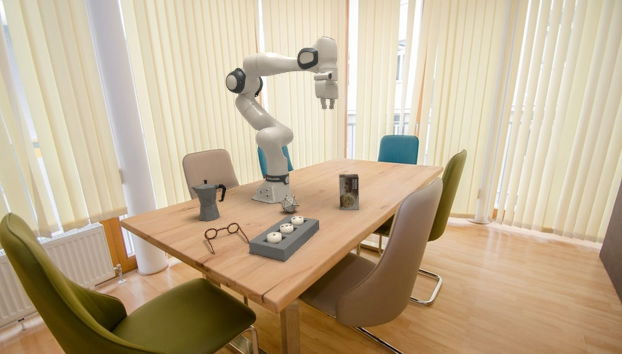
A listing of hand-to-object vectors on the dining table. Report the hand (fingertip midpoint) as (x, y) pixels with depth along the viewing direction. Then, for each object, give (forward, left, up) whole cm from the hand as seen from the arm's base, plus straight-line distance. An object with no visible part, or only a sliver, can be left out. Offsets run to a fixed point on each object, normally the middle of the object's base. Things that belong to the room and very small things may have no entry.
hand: (328, 109), depth 122 cm
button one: (-1, -47, -45) cm, 65 cm away
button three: (-1, -39, -45) cm, 59 cm away
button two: (-1, -31, -45) cm, 55 cm away
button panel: (-1, -39, -47) cm, 61 cm away
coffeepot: (-45, -33, -47) cm, 73 cm away
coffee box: (+9, +2, -47) cm, 48 cm away
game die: (-15, -14, -47) cm, 51 cm away
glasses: (-20, -49, -47) cm, 71 cm away
